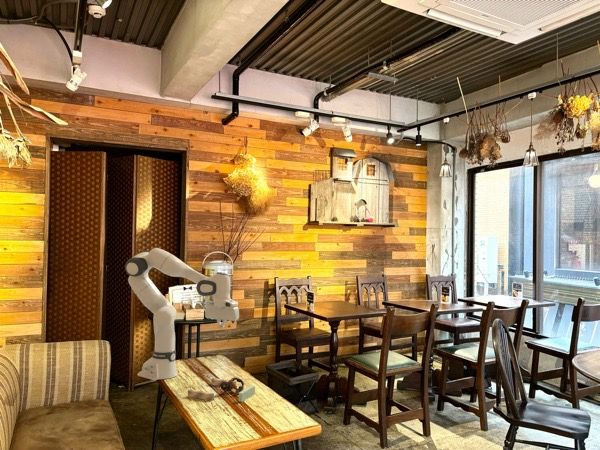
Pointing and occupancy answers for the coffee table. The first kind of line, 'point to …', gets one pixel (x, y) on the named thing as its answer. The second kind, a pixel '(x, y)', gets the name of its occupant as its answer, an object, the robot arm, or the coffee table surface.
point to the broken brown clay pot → (232, 385)
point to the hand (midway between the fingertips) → (221, 327)
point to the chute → (205, 394)
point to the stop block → (246, 393)
